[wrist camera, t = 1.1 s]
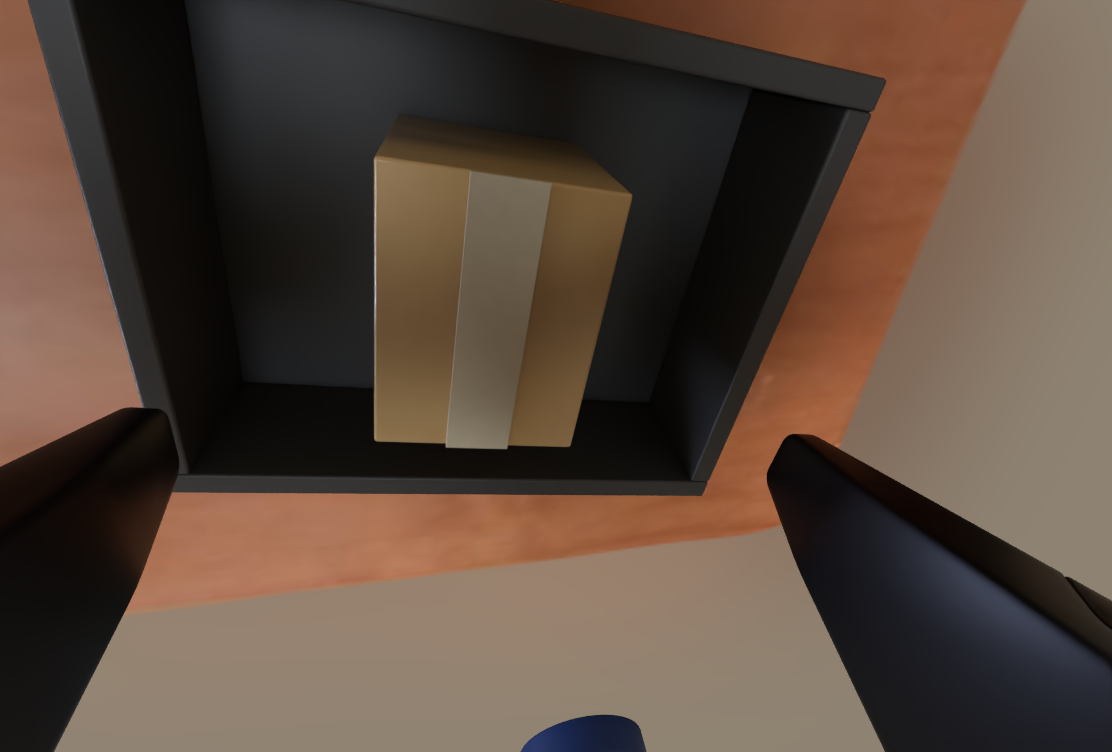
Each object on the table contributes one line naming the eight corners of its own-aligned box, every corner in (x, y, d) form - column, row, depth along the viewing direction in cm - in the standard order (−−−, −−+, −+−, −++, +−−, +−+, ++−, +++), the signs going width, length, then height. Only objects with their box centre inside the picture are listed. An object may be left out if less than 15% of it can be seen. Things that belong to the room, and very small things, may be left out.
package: (540, 345, 17) (571, 451, 13) (393, 333, 16) (373, 446, 12) (579, 144, 14) (636, 195, 9) (398, 113, 13) (372, 156, 8)
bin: (655, 408, 20) (702, 496, 16) (229, 387, 16) (166, 493, 13) (772, 65, 14) (889, 79, 10) (149, -77, 11) (-13, -132, 7)
